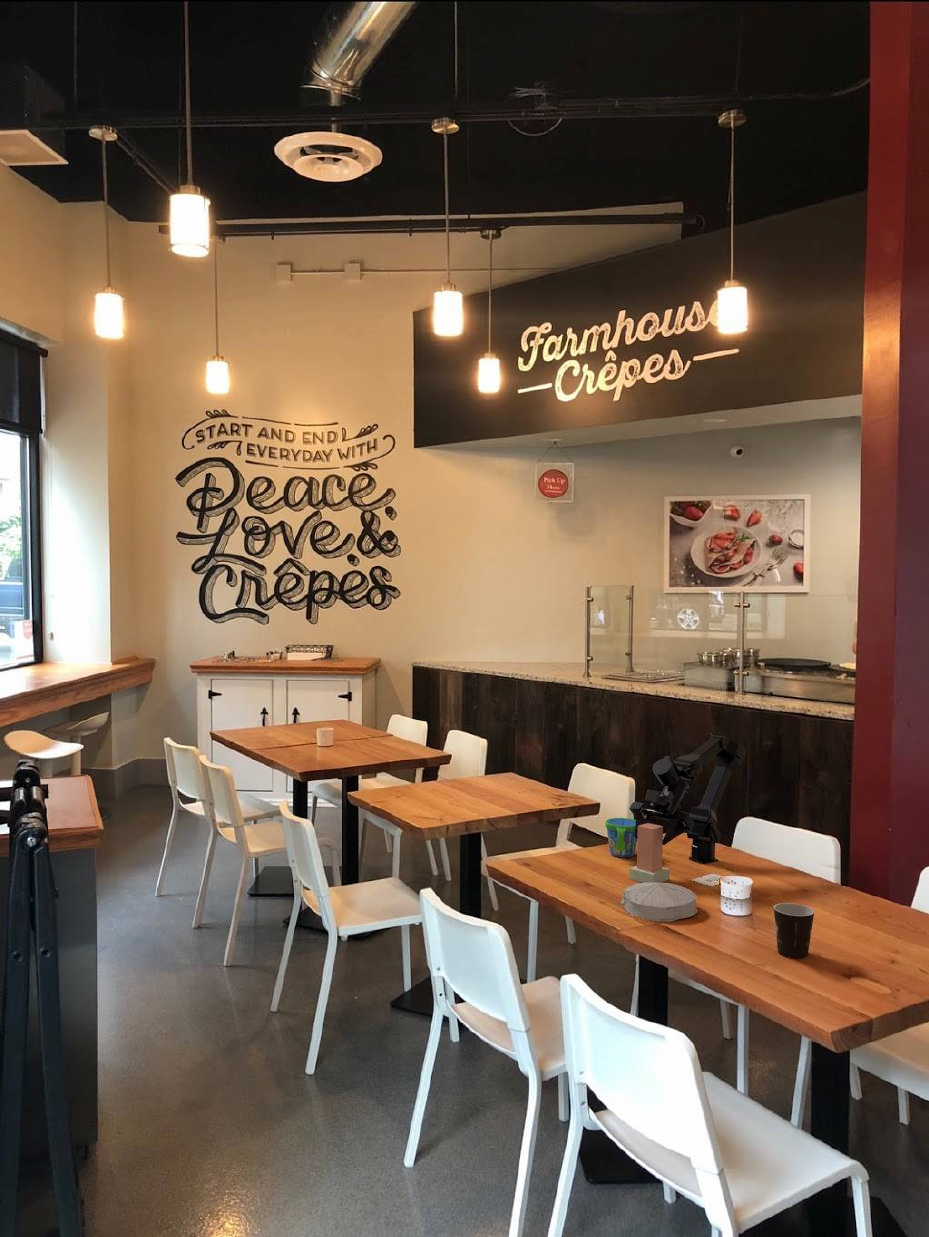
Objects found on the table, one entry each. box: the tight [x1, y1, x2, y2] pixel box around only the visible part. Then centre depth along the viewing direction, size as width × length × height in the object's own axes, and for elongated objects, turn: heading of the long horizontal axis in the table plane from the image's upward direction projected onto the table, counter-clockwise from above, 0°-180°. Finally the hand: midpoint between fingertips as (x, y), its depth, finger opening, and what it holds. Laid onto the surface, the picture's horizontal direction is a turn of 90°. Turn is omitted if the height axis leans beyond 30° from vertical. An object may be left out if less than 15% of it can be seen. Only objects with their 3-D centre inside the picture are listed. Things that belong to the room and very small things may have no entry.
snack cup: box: [605, 817, 637, 858], centre depth 294 cm, size 16×10×10 cm
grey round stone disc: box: [620, 882, 699, 923], centre depth 245 cm, size 20×20×7 cm
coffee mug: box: [773, 902, 815, 960], centre depth 215 cm, size 12×9×10 cm
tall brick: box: [636, 822, 664, 872], centre depth 269 cm, size 5×5×12 cm
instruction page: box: [691, 873, 724, 888], centre depth 269 cm, size 10×7×1 cm
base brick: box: [628, 865, 671, 883], centre depth 269 cm, size 8×8×3 cm
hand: (649, 840), depth 269 cm, fingers open, 9 cm apart
